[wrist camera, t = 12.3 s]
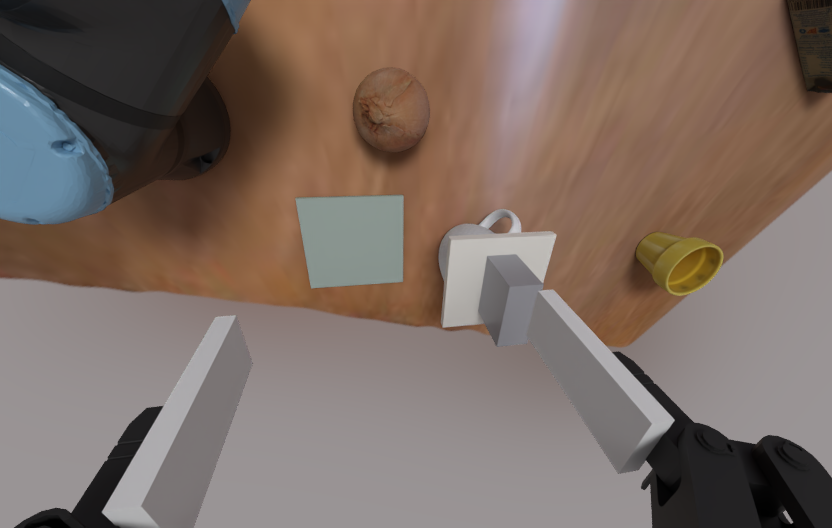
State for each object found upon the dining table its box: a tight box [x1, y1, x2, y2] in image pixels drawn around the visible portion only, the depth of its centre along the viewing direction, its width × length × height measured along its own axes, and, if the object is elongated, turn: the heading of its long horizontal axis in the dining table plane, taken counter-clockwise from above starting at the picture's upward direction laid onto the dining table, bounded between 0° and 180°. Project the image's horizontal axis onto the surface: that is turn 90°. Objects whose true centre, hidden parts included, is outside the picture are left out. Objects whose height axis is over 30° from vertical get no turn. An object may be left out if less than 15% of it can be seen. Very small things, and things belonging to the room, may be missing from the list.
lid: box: [441, 231, 556, 347], centre depth 40 cm, size 14×14×8 cm
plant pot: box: [636, 232, 723, 295], centre depth 59 cm, size 10×10×10 cm
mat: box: [296, 195, 403, 288], centre depth 52 cm, size 16×16×1 cm
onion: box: [353, 68, 430, 152], centre depth 39 cm, size 10×9×10 cm
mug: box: [438, 209, 521, 281], centre depth 49 cm, size 15×11×13 cm
